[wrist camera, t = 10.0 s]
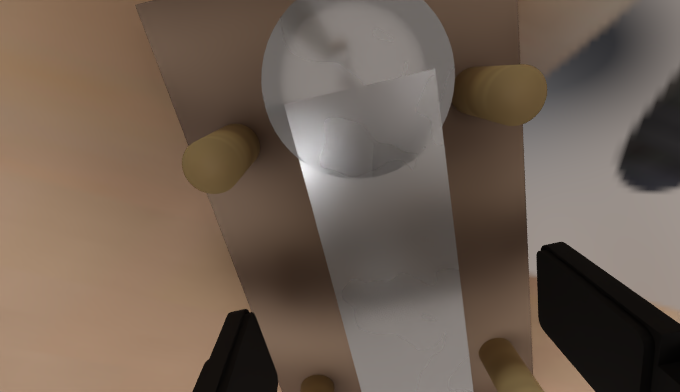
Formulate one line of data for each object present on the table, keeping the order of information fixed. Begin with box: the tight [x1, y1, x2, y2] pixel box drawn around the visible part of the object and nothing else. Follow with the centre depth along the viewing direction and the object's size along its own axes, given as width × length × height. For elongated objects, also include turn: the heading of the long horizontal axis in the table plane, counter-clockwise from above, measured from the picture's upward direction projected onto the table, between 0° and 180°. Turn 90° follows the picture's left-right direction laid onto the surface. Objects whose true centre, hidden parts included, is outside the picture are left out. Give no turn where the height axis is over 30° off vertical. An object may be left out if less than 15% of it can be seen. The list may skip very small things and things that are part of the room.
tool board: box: [135, 0, 547, 392], centre depth 14 cm, size 22×12×4 cm, turn 13°
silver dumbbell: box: [261, 0, 473, 392], centre depth 12 cm, size 18×4×5 cm, turn 12°
